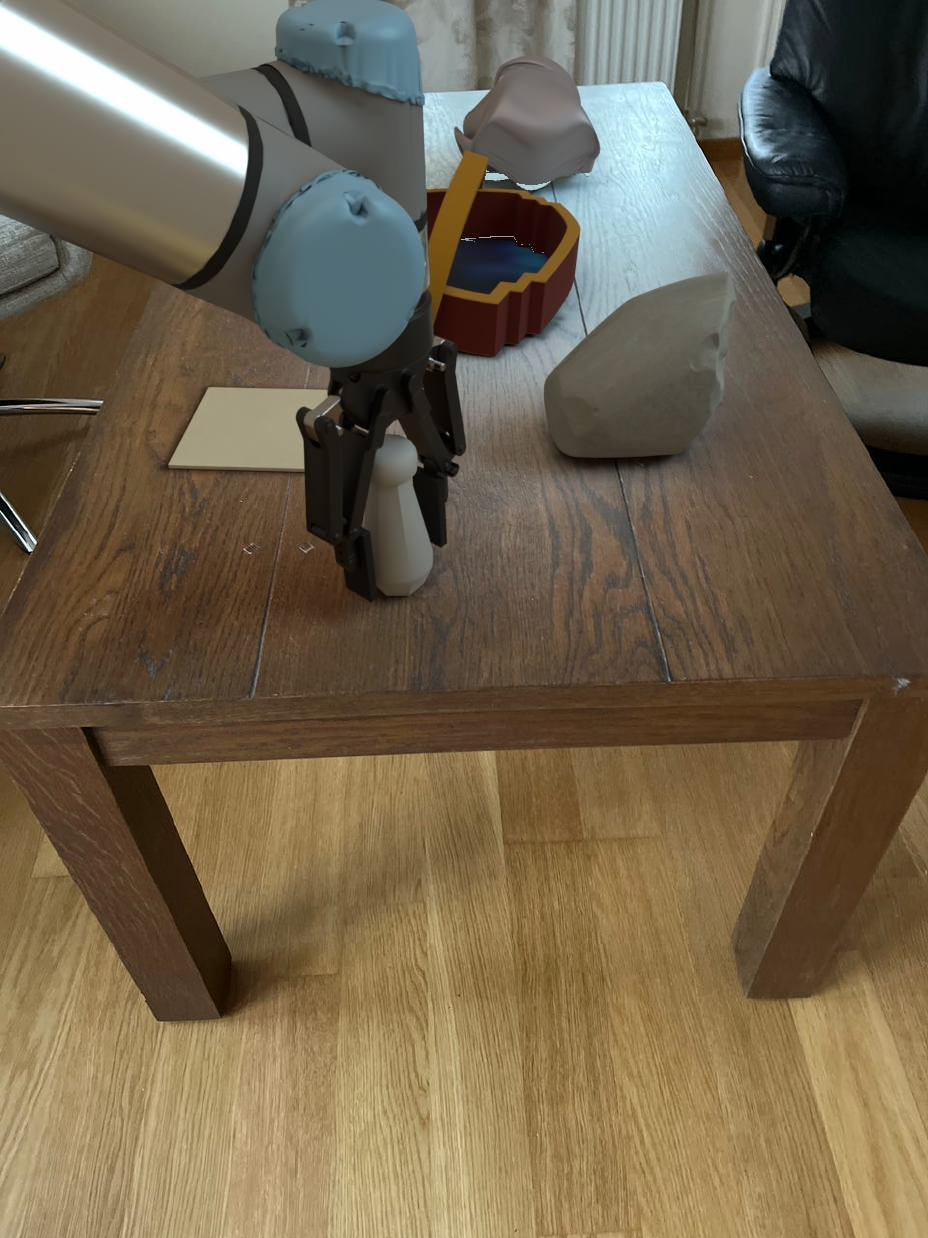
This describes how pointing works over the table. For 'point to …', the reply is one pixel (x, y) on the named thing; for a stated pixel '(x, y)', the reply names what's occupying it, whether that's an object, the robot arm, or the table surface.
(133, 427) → the table surface
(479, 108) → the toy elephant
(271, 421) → the placemat
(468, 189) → the decorative basket
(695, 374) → the decorative stone
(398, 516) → the salt shaker
